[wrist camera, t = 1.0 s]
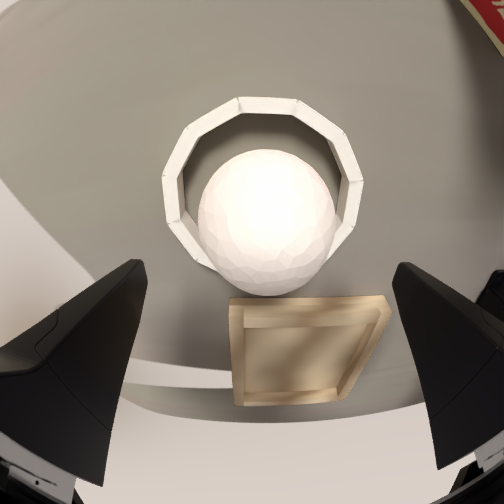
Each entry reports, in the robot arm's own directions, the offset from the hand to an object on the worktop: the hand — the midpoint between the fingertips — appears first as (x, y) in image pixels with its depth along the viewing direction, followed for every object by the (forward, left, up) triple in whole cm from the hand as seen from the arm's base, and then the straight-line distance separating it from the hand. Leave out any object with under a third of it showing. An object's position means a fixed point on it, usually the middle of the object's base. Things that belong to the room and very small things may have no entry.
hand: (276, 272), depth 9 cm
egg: (0, 0, -8) cm, 8 cm away
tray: (-4, +15, -8) cm, 17 cm away
